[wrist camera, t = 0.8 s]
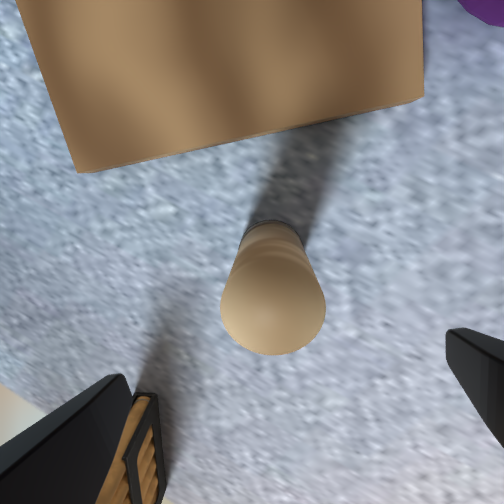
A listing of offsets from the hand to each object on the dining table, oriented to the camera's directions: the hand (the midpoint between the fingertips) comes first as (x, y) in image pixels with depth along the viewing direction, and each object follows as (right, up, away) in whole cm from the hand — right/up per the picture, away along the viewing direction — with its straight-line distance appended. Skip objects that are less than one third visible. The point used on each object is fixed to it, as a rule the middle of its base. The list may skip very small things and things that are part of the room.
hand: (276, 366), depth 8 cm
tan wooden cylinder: (+1, +3, +10) cm, 11 cm away
